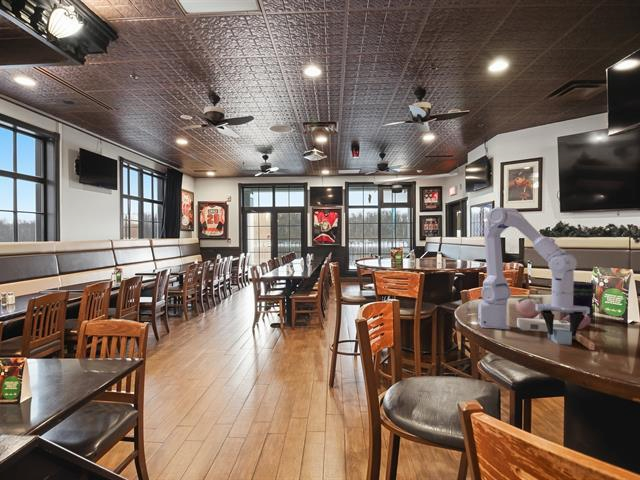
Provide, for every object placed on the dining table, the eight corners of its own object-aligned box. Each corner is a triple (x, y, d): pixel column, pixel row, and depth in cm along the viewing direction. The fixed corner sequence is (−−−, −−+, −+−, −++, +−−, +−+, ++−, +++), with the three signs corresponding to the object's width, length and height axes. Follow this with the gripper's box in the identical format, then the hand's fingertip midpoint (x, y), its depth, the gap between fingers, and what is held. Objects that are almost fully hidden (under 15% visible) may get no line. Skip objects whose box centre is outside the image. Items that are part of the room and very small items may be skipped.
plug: (555, 343, 112) (555, 331, 112) (547, 337, 119) (547, 325, 119) (573, 345, 111) (573, 332, 111) (564, 338, 117) (564, 326, 117)
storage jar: (585, 323, 137) (586, 285, 137) (558, 318, 146) (558, 281, 145) (598, 320, 142) (598, 283, 142) (570, 315, 151) (571, 280, 150)
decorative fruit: (530, 316, 148) (531, 292, 148) (545, 321, 140) (546, 296, 140) (510, 317, 147) (510, 293, 146) (524, 322, 138) (524, 296, 138)
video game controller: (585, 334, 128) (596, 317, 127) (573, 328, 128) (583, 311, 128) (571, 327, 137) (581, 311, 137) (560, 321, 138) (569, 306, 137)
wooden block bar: (596, 350, 105) (596, 342, 105) (588, 349, 105) (589, 341, 105) (578, 338, 116) (578, 331, 116) (572, 338, 117) (572, 331, 117)
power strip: (521, 330, 127) (522, 320, 127) (516, 325, 133) (517, 316, 133) (573, 333, 123) (573, 323, 123) (565, 328, 129) (565, 319, 129)
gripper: (541, 293, 111) (540, 336, 111) (595, 295, 107) (594, 340, 108) (533, 289, 118) (532, 330, 118) (584, 291, 114) (583, 333, 114)
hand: (561, 334), depth 113 cm, fingers open, 6 cm apart
